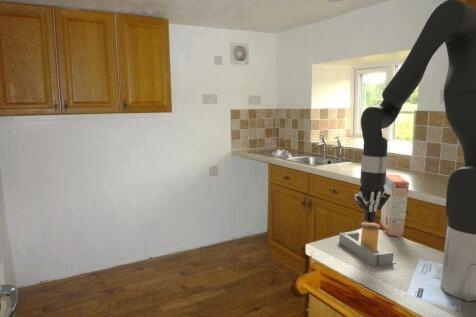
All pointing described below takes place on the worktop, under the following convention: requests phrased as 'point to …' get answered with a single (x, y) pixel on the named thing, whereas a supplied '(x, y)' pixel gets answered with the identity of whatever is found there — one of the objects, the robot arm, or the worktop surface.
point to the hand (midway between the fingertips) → (369, 221)
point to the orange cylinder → (370, 235)
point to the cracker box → (395, 205)
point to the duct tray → (365, 250)
